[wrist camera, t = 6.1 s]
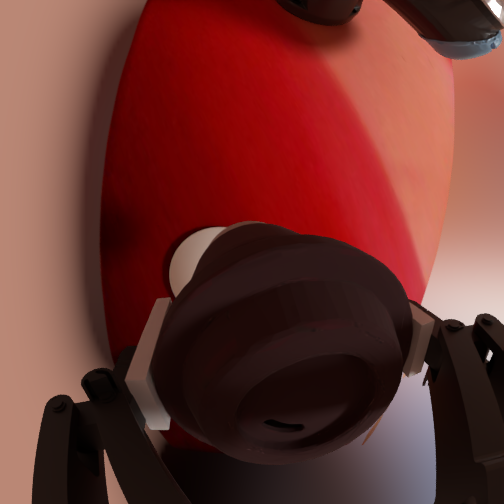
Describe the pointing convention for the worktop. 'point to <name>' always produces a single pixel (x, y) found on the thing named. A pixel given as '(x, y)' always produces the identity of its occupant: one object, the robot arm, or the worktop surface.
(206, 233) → the saucer
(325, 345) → the coffee cup
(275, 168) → the worktop surface
